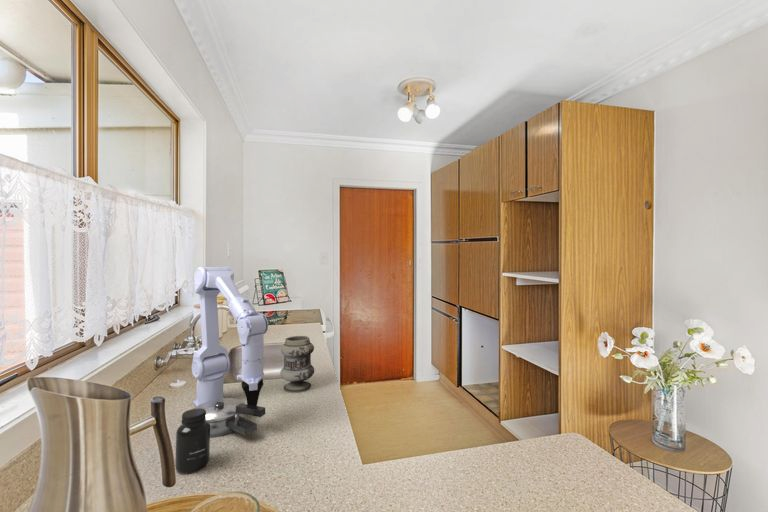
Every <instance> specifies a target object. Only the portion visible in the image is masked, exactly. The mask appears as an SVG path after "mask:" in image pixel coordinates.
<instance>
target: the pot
mask: <svg viewBox="0 0 768 512" xmlns="http://www.w3.org/2000/svg"><path fill="white" fill-rule="evenodd" d="M209 424H210V438H219V437H222V436H225V435H229V434H232V433H234V432H236V433H238V434H240V435H242V436H247V435H249V434H251V433H253V432H256V431H257V430H258V429H257V428H258V423H256V422H254V421H252V420H250V419H247V418H245V414H235V416H234V417H232V418H229V419H225V420H221V421H215V422H209Z"/></svg>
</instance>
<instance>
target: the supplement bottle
mask: <svg viewBox="0 0 768 512" xmlns="http://www.w3.org/2000/svg"><path fill="white" fill-rule="evenodd" d="M180 422H181V424H180V425H179V426H178V428H177V430H176V433H175V458H174V459H175V461H174V462H175V467H176V468H175V471H176V472H178V473H180V474H183V475H184V474H187V475H188V474H192V473H193V474H194V473H196V472H199V471H201V470H202V469H203V470H204V468H206V467H207V466H208V464H209V463H210V456H211V454H210V452H211V449H210V448H211V437H210V424H209V422H208V421H206V410H204V409H200V408H198V409H194V408H192V409H188V410H185V411H184V412H183V413H182V414H181V421H180Z"/></svg>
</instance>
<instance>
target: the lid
mask: <svg viewBox="0 0 768 512" xmlns="http://www.w3.org/2000/svg"><path fill="white" fill-rule="evenodd" d="M198 408H200V409H204V410H206V421H208V422H215V421H221V420H225V419H229V418H232V417H234V416H235V414H244V416H245V415H246V416H252V417H256V418H262V417H264V416H265V415H266V407H264V406H258V405H257V406H254V405H248V404H246V403H245V401H244V400H242V399H239V398H234V397H223V398H222V399H216V400H211V401H208V402H205V403H202V404H200V405H198V406H197V407H196V406H195V407H194V408H193V409H198Z"/></svg>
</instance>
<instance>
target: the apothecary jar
mask: <svg viewBox="0 0 768 512" xmlns="http://www.w3.org/2000/svg"><path fill="white" fill-rule="evenodd" d="M284 340H285V341H284V344H282V346H281V348H280V353H281V354H282V355H283V367H282V368H281V370H280V372H279V373H280V374H279V375H280V377H281V378H282V379H283V381H286V382H287V383H286V384H285V385H284V386H283V391H285V392H286V393H290V394H292V393H293V394H294V393H296V394H297V393H302V392H306V391H308V390H310V389H311V388H312V384H311V383H310V382H309V381H308V380H309V379H311V378H312V377H313V375H314V374H315V368H314V366H313V365H312V362H311V361H312V360H311V357H312V353H313V352H314V351H315V346H314V344H313V343H312V342H311V341H310V337H309V336H306V335H294V336H287V337H286V338H285V339H284Z"/></svg>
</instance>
